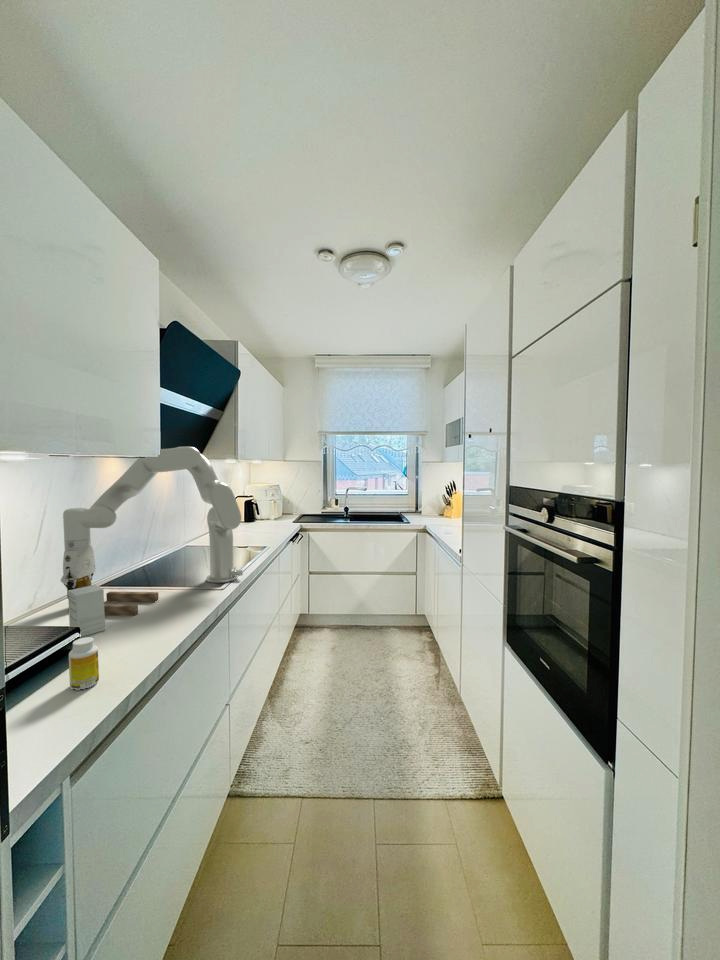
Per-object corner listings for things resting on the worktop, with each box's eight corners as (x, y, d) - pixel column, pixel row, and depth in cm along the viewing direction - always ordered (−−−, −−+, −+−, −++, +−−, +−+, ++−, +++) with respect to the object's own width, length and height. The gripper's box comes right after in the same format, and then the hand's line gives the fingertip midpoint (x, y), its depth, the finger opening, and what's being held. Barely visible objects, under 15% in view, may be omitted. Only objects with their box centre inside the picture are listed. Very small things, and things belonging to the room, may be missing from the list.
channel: (158, 600, 153) (158, 592, 153) (134, 615, 138) (134, 606, 138) (110, 599, 154) (109, 591, 154) (81, 614, 139) (80, 605, 139)
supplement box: (96, 624, 131) (95, 584, 130) (105, 630, 126) (104, 588, 125) (69, 631, 125) (67, 589, 125) (77, 638, 121) (75, 595, 120)
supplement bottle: (102, 684, 96) (100, 640, 96) (73, 694, 92) (71, 648, 91) (95, 675, 100) (93, 633, 99) (67, 685, 96) (65, 641, 95)
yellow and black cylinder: (67, 609, 143) (61, 575, 142) (82, 601, 151) (76, 569, 151) (89, 606, 143) (83, 571, 143) (103, 598, 152) (97, 565, 151)
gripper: (70, 549, 137) (72, 604, 138) (104, 539, 154) (106, 587, 155) (47, 549, 137) (50, 604, 138) (84, 539, 154) (86, 587, 155)
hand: (79, 595), depth 146 cm, fingers closed on yellow and black cylinder, 6 cm apart
